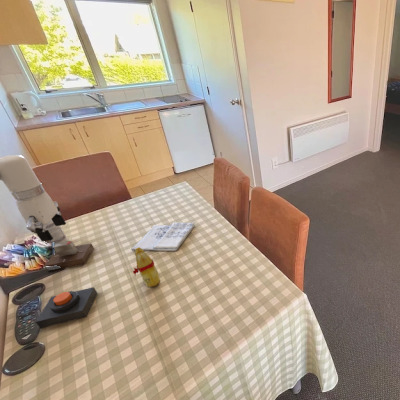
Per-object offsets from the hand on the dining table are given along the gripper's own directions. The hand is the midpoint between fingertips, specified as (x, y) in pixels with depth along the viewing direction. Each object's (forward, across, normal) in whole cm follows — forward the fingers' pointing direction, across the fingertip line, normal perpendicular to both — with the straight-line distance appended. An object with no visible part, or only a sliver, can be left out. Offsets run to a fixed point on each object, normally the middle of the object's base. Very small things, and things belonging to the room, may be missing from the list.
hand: (54, 232), depth 98 cm
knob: (+13, -4, -2) cm, 13 cm away
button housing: (+16, +25, +8) cm, 31 cm away
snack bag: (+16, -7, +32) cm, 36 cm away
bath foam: (+16, -17, -12) cm, 27 cm away
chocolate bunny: (+16, +19, +30) cm, 39 cm away
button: (+11, +25, +8) cm, 29 cm away
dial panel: (+16, -4, -2) cm, 16 cm away
